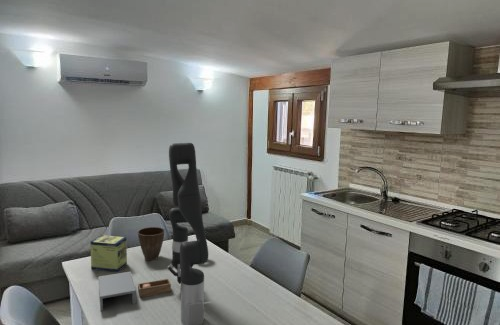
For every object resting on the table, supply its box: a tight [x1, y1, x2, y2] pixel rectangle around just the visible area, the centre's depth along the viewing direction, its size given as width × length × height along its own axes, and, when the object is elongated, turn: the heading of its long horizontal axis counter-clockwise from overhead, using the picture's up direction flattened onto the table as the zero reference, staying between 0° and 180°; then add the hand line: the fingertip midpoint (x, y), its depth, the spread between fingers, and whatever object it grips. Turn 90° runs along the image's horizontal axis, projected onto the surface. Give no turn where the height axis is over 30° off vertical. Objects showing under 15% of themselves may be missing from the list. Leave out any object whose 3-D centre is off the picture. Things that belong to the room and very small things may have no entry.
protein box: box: [90, 234, 128, 273], centre depth 190 cm, size 10×16×16 cm
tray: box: [137, 278, 172, 298], centre depth 164 cm, size 6×14×4 cm, turn 115°
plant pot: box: [137, 226, 166, 261], centre depth 203 cm, size 15×15×16 cm
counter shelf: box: [98, 271, 137, 312], centre depth 160 cm, size 20×14×6 cm
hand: (180, 282), depth 169 cm, fingers closed
